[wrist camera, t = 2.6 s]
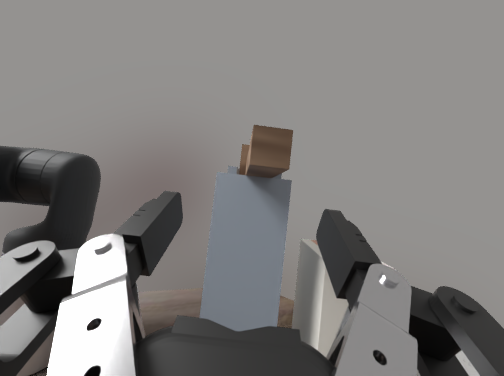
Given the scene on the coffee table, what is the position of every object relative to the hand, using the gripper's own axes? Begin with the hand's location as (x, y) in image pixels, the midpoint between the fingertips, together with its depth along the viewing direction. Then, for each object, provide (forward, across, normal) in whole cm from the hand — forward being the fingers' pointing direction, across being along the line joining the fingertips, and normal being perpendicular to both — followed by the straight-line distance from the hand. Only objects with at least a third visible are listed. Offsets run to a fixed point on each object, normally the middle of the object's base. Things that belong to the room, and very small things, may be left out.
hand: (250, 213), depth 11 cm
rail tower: (+4, 0, +35) cm, 35 cm away
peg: (+15, 0, +4) cm, 16 cm away
